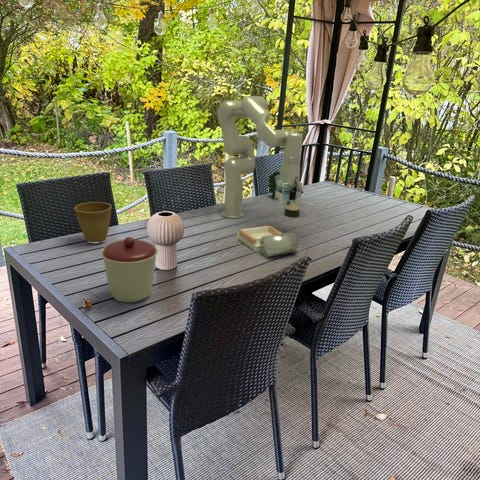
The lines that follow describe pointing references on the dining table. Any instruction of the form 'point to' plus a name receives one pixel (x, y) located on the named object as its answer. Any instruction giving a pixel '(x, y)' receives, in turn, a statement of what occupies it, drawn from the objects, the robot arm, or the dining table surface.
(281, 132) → the robot arm
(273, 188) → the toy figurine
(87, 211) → the plant pot
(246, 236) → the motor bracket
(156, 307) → the dining table surface
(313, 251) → the dining table surface
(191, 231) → the dining table surface
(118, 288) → the canister
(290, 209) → the wine bottle
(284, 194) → the light bulb box
